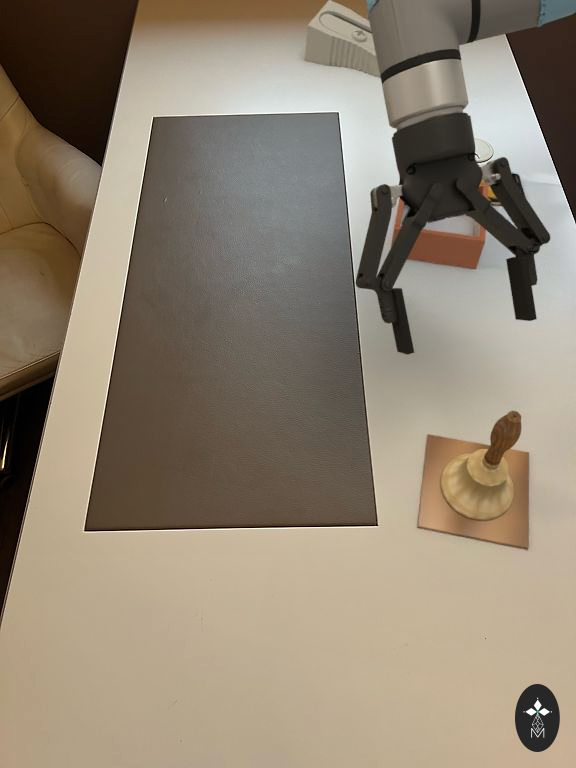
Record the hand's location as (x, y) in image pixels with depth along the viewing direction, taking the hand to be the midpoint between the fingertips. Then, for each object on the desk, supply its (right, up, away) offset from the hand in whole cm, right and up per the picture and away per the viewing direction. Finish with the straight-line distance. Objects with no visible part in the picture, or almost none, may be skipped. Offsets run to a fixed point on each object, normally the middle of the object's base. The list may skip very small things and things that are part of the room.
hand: (466, 336), depth 64 cm
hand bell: (+3, -17, +8) cm, 19 cm away
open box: (+4, +18, +32) cm, 37 cm away
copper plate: (+3, -17, +8) cm, 19 cm away
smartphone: (+12, +26, +38) cm, 47 cm away
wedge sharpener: (-4, +61, +61) cm, 86 cm away
